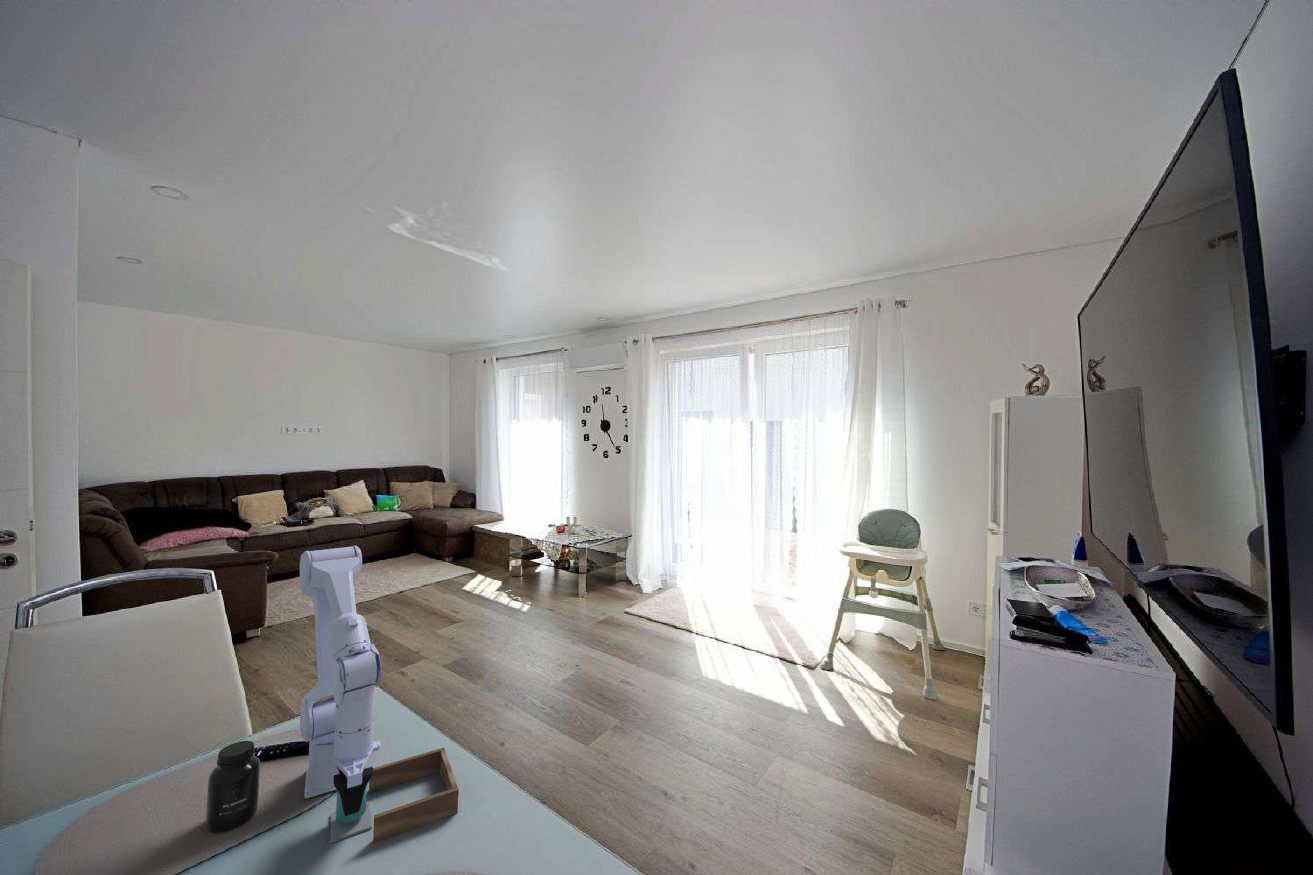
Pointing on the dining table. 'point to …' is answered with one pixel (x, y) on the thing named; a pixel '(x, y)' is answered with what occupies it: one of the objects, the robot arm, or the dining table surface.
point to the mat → (350, 826)
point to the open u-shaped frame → (420, 809)
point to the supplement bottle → (233, 788)
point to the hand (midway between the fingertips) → (351, 803)
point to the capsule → (346, 819)
